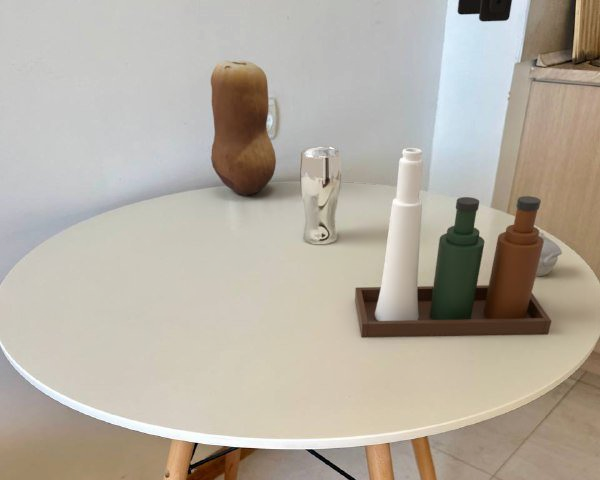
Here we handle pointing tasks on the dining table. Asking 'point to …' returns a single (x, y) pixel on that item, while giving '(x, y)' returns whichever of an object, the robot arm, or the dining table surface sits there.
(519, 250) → the amber bottle
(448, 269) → the green bottle
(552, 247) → the frog figurine
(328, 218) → the beer glass
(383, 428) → the dining table surface
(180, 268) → the dining table surface
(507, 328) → the tray
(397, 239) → the cosmetic bottle
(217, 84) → the butternut squash
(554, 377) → the dining table surface
